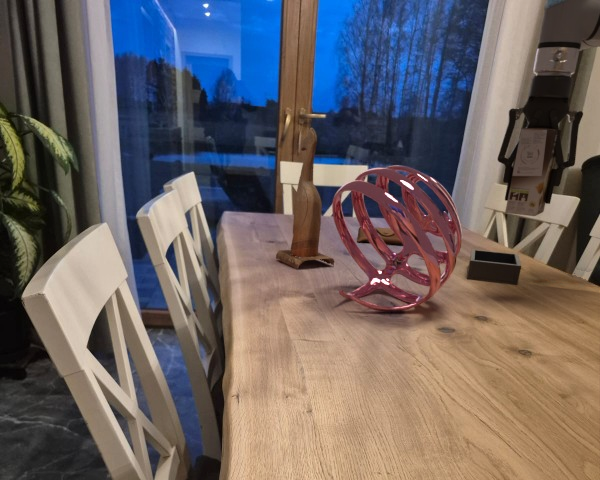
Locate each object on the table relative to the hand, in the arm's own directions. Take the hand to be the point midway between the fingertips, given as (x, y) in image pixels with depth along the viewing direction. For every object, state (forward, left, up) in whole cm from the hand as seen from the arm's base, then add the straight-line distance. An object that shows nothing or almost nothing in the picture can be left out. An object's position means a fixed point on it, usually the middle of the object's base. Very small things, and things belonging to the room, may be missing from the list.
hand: (526, 201), depth 120 cm
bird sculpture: (+50, -10, -21) cm, 55 cm away
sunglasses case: (+35, -51, -21) cm, 65 cm away
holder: (+3, -21, -21) cm, 30 cm away
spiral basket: (+24, +16, -21) cm, 35 cm away
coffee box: (0, 0, -3) cm, 3 cm away
